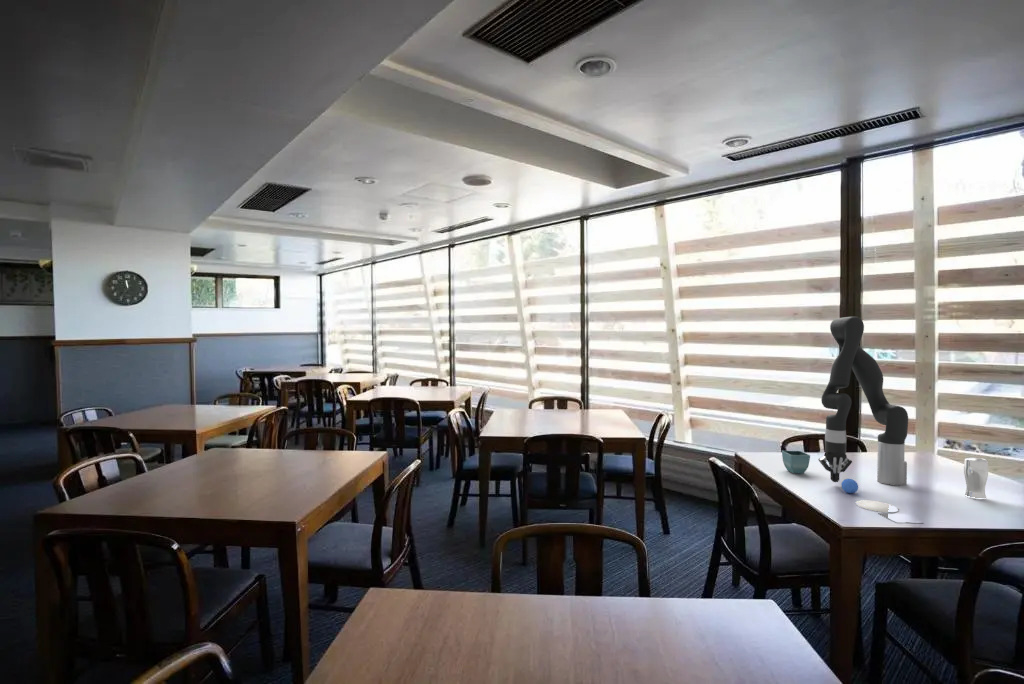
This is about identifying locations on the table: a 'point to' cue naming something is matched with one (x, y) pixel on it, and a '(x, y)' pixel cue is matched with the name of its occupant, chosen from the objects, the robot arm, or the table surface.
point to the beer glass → (975, 476)
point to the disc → (873, 505)
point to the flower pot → (796, 461)
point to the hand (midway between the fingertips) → (834, 481)
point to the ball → (849, 485)
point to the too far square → (884, 514)
